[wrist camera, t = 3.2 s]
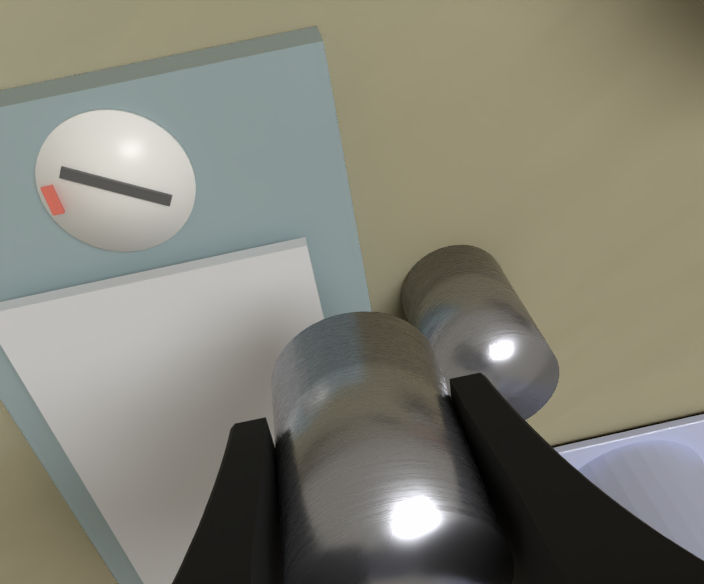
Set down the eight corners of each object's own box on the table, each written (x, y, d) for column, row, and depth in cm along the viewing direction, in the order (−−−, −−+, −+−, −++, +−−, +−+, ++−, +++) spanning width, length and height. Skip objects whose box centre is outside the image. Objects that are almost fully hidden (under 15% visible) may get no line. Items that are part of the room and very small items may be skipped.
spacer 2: (504, 319, 25) (558, 416, 20) (407, 340, 24) (442, 442, 20) (501, 234, 22) (560, 323, 18) (395, 257, 22) (431, 352, 18)
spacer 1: (440, 421, 16) (513, 628, 12) (288, 451, 16) (306, 673, 11) (431, 296, 14) (515, 495, 10) (255, 330, 13) (264, 546, 9)
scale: (403, 499, 29) (416, 551, 27) (131, 561, 29) (122, 618, 27) (316, 25, 18) (328, 51, 16) (-135, 118, 18) (-186, 157, 15)
